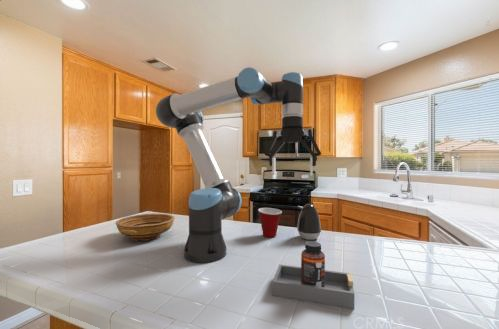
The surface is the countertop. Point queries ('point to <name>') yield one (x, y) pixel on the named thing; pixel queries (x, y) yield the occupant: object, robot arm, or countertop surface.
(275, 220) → the plastic cup
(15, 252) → the countertop surface
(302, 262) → the supplement bottle
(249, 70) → the robot arm
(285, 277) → the trough
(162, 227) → the brown woven oval bowl
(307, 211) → the pump dispenser
